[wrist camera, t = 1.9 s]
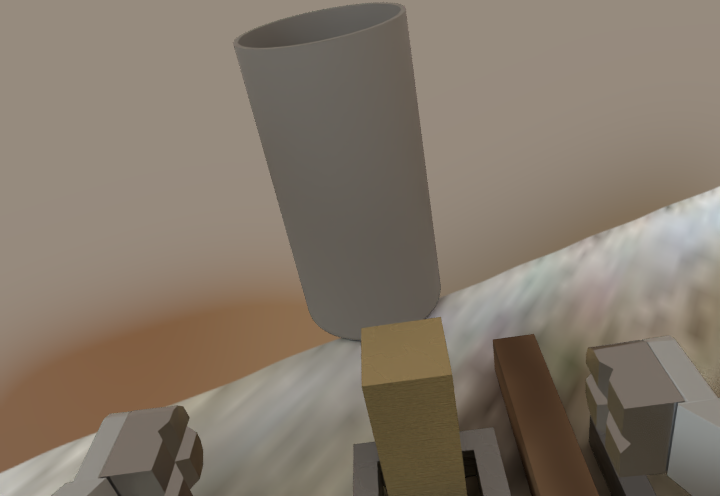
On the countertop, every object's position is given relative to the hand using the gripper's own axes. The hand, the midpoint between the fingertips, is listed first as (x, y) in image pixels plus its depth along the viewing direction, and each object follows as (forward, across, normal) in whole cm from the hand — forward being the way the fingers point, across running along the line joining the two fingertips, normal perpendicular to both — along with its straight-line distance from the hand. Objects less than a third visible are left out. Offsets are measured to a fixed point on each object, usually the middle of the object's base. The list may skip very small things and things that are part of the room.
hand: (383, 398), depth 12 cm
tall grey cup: (+35, +3, +24) cm, 43 cm away
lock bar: (+12, 0, +24) cm, 27 cm away
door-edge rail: (+13, -7, +24) cm, 28 cm away
